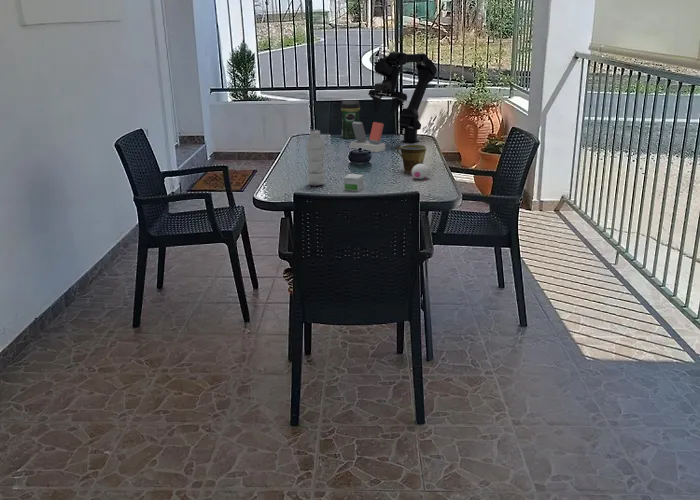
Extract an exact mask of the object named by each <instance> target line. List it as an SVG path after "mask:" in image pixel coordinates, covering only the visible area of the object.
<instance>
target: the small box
mask: <svg viewBox="0 0 700 500" xmlns="http://www.w3.org/2000/svg"><path fill="white" fill-rule="evenodd" d="M364 182H365V181H364V174H355V173H349V174H346V175H345V176H344V177H343V190H344V191H352V192H360V191H361V190H362V189H364V187H365V186H364V185H365V184H364Z"/></svg>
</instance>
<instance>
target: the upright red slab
mask: <svg viewBox="0 0 700 500" xmlns="http://www.w3.org/2000/svg"><path fill="white" fill-rule="evenodd" d="M384 125H385V123H382V122H377V121H373V122H372V126H371V131H370V133H369V138H368V141H369V142H370V143H376V144H379V143H381V139H382V134H383V130H384Z"/></svg>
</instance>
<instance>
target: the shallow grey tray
mask: <svg viewBox="0 0 700 500" xmlns="http://www.w3.org/2000/svg"><path fill="white" fill-rule="evenodd" d="M351 148H356V149H355V150H357V149H358V148H362V149H366V150H370V151H371V152H370V153H378V152H379V153H380V152H383V151H384V152H385V151H386V143H383V142H380V143H379V144H376V143H370V142H369V140H366V142H363V141H357V140H354V141H350V149H351Z"/></svg>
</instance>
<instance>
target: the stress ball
mask: <svg viewBox="0 0 700 500" xmlns="http://www.w3.org/2000/svg"><path fill="white" fill-rule="evenodd" d="M427 165H428V164H425V163H423V164H417V165H415V166H414V167H413V169H412V172H411V173H412V174H411V175H412V178H414V179H417V180H423V179H424V181H427V178H426V177H428V175H429V173H430V169H429V167H428V166H427Z"/></svg>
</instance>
